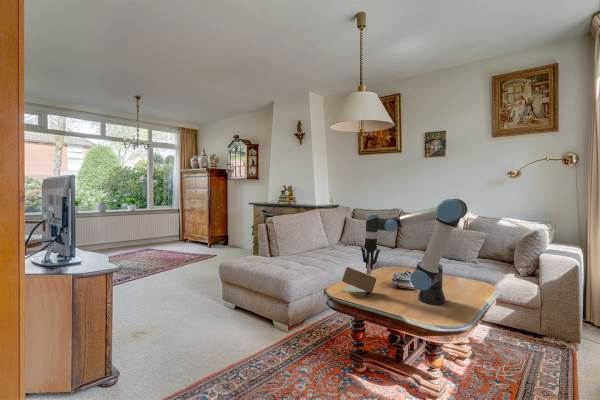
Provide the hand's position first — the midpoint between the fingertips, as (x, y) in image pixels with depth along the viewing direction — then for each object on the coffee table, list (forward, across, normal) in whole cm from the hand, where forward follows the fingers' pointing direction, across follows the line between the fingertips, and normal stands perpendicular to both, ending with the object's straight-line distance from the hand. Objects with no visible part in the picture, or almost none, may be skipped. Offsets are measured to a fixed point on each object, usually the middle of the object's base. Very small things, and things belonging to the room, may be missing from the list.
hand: (369, 273), depth 203 cm
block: (+7, -4, 0) cm, 8 cm away
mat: (+13, +8, 0) cm, 15 cm away
